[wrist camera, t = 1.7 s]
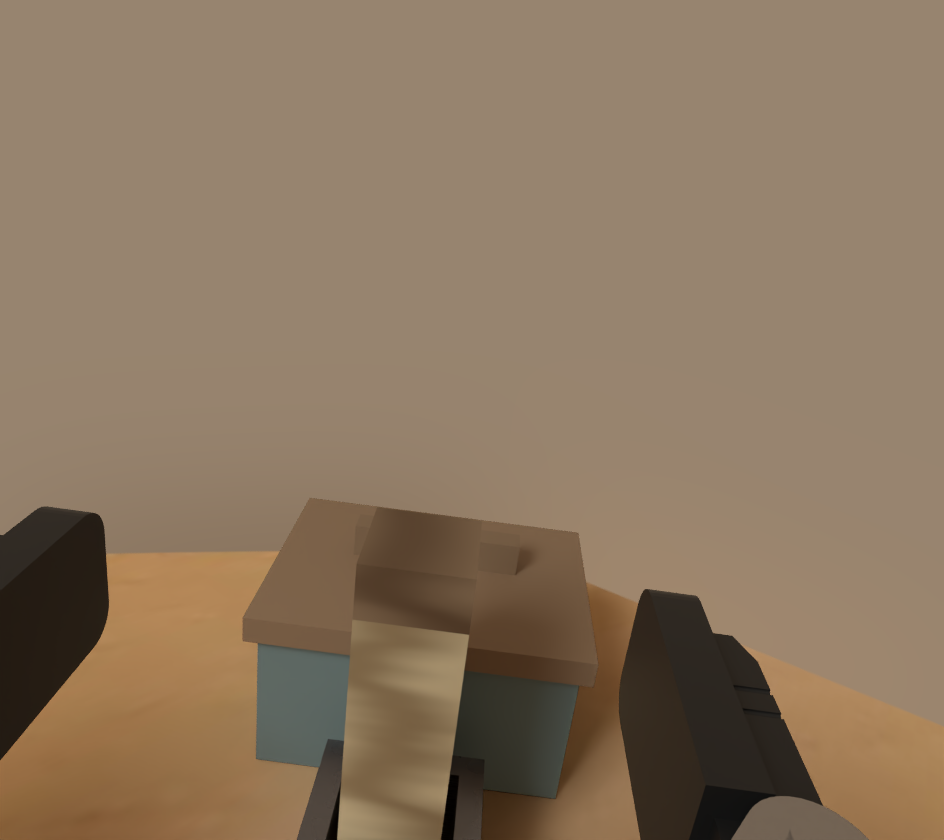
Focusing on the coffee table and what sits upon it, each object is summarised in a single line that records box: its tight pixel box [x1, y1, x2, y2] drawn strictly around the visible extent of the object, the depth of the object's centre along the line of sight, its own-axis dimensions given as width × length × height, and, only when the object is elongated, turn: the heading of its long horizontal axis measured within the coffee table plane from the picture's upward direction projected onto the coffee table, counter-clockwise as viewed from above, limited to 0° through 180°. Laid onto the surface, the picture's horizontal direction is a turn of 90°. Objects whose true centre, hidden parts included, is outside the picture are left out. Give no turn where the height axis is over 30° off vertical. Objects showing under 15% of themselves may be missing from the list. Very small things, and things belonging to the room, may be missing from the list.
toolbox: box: [243, 498, 598, 799], centre depth 38 cm, size 15×11×10 cm
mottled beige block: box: [337, 507, 482, 840], centre depth 27 cm, size 4×4×16 cm
